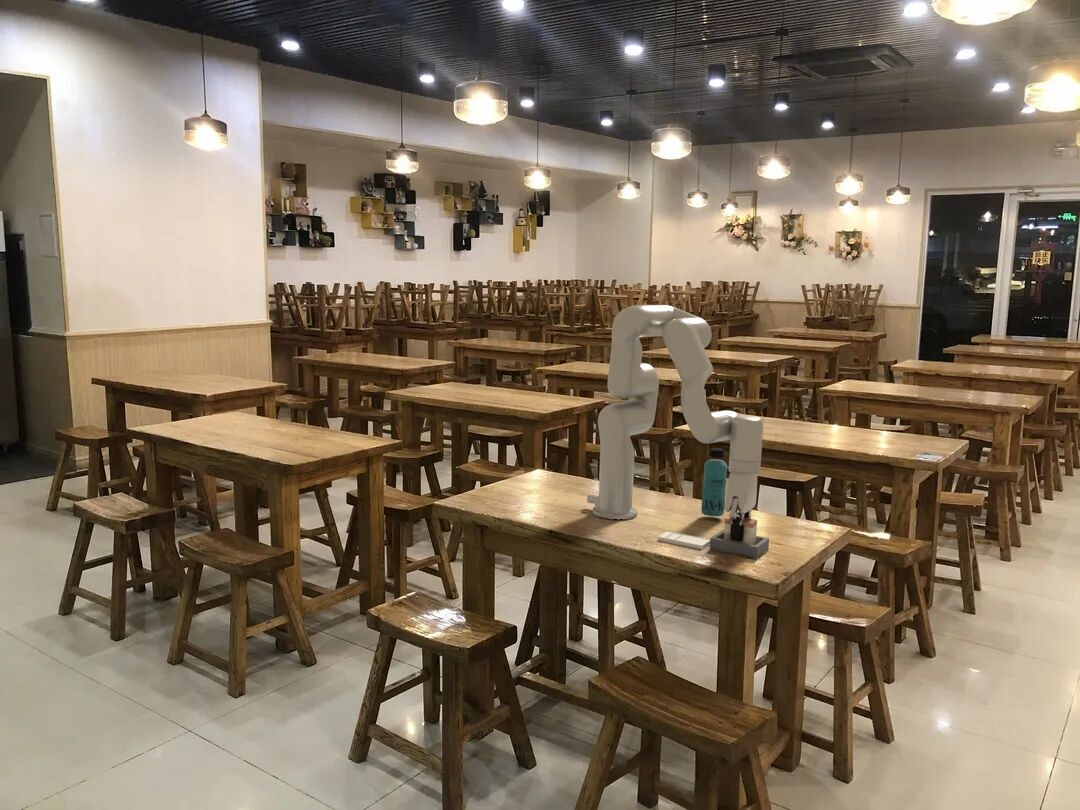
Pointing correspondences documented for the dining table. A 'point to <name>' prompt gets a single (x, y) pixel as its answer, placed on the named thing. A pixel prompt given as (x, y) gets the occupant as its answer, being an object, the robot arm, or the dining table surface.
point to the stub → (749, 531)
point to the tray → (739, 546)
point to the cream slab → (684, 540)
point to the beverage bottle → (714, 484)
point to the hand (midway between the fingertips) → (739, 537)
